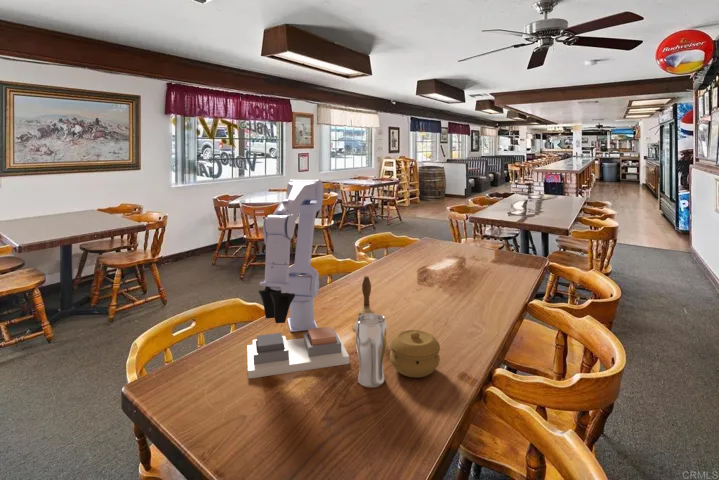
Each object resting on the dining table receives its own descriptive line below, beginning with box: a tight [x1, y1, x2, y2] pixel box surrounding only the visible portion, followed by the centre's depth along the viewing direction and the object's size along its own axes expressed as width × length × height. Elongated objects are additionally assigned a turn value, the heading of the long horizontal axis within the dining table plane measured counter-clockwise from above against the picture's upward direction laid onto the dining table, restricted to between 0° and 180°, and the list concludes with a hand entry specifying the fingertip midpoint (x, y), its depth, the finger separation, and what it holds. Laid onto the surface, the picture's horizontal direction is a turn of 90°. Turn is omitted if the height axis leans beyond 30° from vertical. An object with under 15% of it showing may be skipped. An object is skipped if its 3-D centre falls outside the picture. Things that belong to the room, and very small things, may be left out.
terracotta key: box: [307, 326, 336, 346], centre depth 104 cm, size 6×6×3 cm
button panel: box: [246, 329, 350, 380], centre depth 103 cm, size 13×24×4 cm, turn 106°
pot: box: [389, 329, 441, 379], centre depth 96 cm, size 12×12×10 cm
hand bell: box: [352, 275, 375, 333], centre depth 118 cm, size 8×8×16 cm
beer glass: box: [355, 312, 388, 389], centre depth 91 cm, size 7×7×15 cm
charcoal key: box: [256, 332, 284, 353], centre depth 100 cm, size 6×6×3 cm
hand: (275, 320), depth 98 cm, fingers open, 7 cm apart
